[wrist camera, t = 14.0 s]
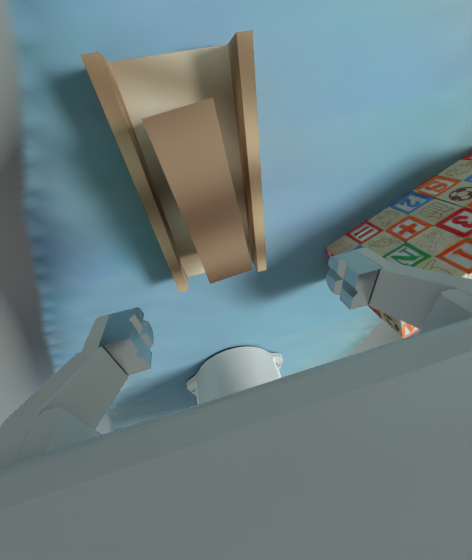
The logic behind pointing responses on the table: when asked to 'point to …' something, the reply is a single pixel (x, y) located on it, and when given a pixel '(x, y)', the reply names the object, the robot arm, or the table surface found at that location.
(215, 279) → the walnut block
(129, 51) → the table surface
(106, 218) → the table surface
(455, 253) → the stack of blocks
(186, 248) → the tan shallow tray
